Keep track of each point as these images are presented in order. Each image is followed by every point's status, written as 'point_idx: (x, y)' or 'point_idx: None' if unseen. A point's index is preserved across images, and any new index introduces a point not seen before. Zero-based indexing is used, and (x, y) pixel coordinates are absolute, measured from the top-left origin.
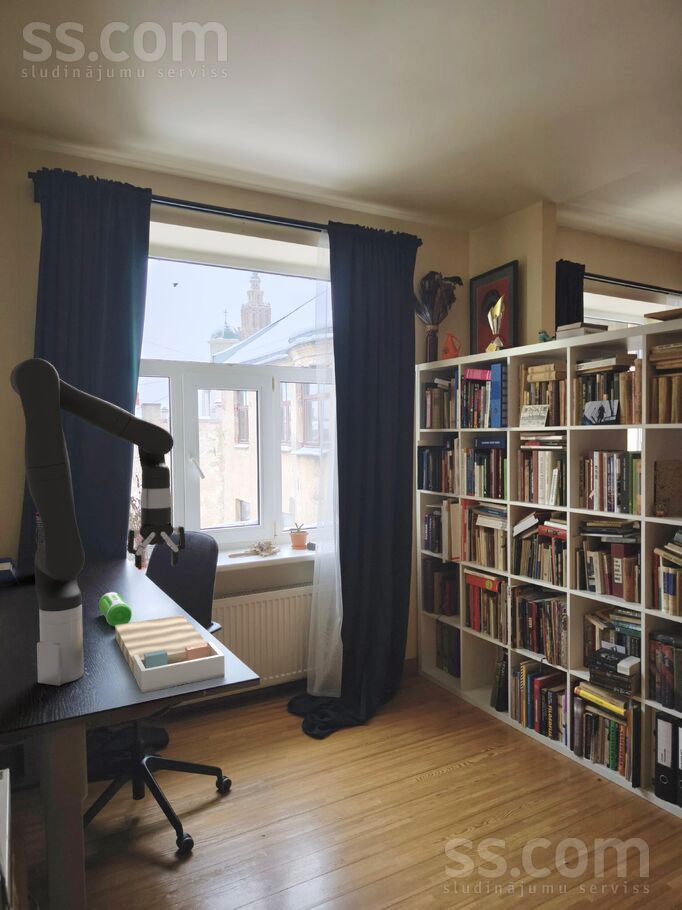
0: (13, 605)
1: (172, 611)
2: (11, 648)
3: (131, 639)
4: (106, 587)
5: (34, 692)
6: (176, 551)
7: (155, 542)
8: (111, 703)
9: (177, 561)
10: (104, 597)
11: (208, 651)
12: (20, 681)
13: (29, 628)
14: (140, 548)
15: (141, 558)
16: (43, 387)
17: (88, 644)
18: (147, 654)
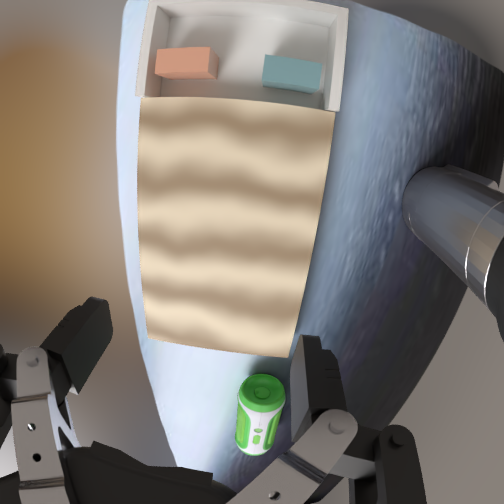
0: None
1: (160, 390)
2: (424, 366)
3: (290, 259)
4: (230, 480)
5: (476, 168)
6: (37, 350)
7: (162, 484)
8: (394, 27)
9: (70, 313)
10: (267, 446)
11: (153, 88)
12: None
13: (370, 419)
14: (322, 459)
15: (307, 388)
16: None
17: (339, 333)
18: (313, 75)
